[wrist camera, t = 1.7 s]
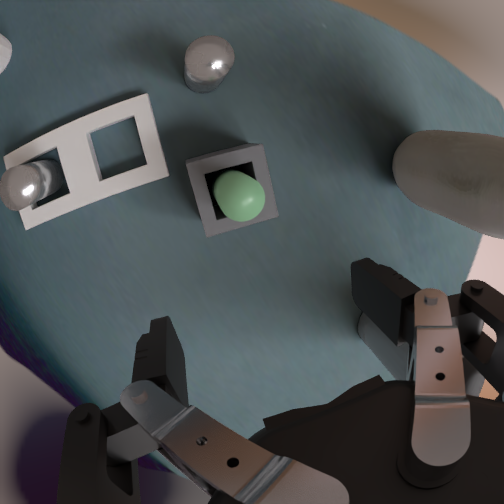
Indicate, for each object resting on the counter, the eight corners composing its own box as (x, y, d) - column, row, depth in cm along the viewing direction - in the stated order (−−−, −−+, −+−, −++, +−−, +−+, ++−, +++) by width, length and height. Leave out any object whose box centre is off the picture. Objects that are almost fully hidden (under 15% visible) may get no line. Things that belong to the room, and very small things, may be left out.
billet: (217, 55, 28) (228, 31, 20) (225, 88, 29) (239, 73, 22) (180, 64, 27) (180, 41, 20) (189, 97, 29) (190, 83, 21)
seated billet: (58, 153, 27) (25, 159, 20) (67, 187, 29) (38, 201, 22) (30, 167, 27) (-6, 176, 20) (40, 199, 28) (7, 216, 21)
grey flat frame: (148, 95, 28) (147, 93, 26) (169, 174, 31) (169, 176, 30) (9, 155, 26) (3, 156, 24) (31, 226, 29) (26, 230, 28)
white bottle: (425, 122, 35) (608, 152, 10) (435, 189, 39) (598, 256, 14) (372, 134, 34) (590, 173, 9) (386, 209, 38) (569, 304, 13)
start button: (244, 164, 29) (259, 170, 23) (252, 200, 30) (269, 214, 25) (207, 174, 28) (213, 183, 23) (217, 210, 30) (225, 227, 24)
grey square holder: (248, 143, 32) (262, 144, 26) (262, 203, 35) (278, 216, 29) (185, 160, 31) (185, 164, 26) (202, 221, 34) (206, 237, 28)
